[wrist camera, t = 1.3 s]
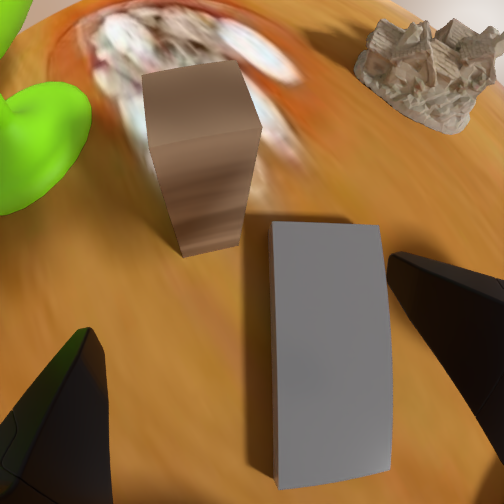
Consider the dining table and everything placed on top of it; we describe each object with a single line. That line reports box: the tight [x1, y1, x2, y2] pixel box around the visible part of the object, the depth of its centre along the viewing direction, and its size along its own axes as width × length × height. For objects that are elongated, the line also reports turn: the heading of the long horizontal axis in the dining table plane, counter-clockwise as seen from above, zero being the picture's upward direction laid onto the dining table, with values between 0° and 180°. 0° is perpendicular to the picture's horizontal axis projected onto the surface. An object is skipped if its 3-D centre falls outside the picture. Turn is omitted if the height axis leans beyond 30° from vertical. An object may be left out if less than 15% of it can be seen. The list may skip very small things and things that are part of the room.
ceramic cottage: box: [354, 18, 504, 135], centre depth 26 cm, size 16×16×15 cm
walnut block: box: [142, 60, 262, 258], centre depth 17 cm, size 4×4×13 cm
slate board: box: [268, 221, 393, 490], centre depth 21 cm, size 18×8×2 cm, turn 1°
